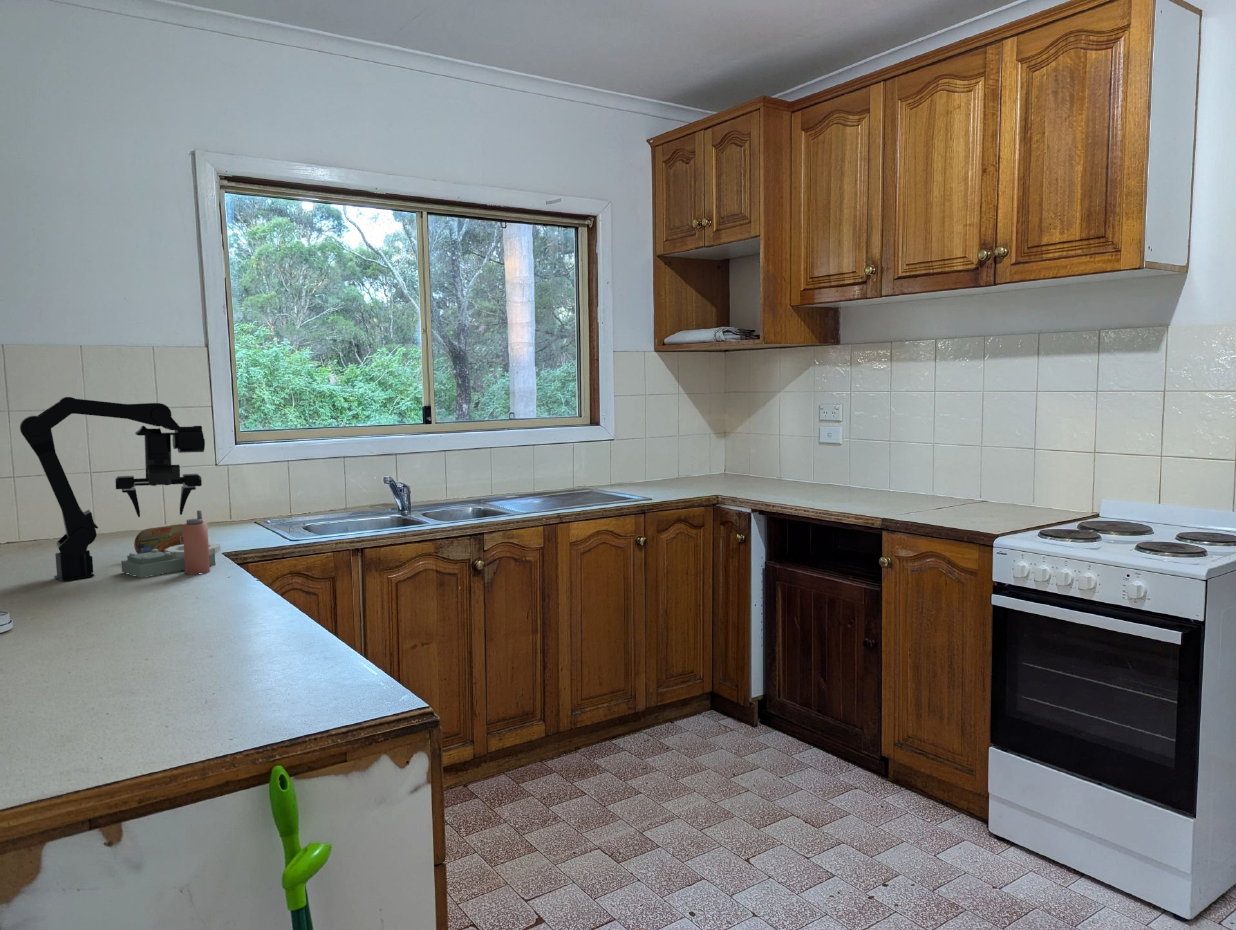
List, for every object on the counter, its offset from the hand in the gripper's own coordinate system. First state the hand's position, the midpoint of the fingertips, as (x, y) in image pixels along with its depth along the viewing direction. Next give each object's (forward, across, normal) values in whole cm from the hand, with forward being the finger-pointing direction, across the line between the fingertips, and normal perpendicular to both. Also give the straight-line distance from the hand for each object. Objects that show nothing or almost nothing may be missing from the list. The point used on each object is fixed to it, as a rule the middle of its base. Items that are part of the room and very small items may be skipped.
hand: (160, 515), depth 213 cm
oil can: (+13, +7, -12) cm, 19 cm away
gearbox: (+13, +3, -3) cm, 14 cm away
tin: (+13, +2, +15) cm, 20 cm away
